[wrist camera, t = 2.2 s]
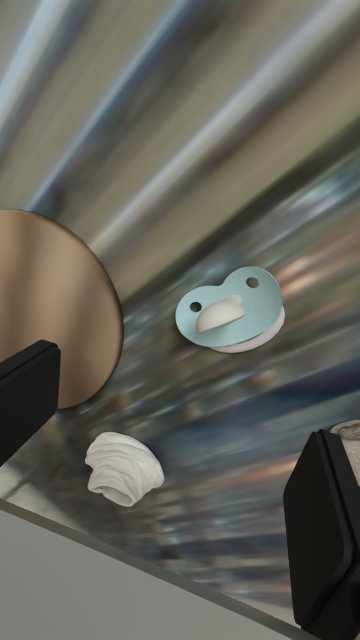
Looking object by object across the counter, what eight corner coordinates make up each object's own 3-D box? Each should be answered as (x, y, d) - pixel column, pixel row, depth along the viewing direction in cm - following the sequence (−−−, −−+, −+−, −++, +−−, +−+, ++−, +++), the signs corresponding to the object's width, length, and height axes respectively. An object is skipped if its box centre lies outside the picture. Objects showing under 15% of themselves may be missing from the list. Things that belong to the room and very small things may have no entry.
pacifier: (300, 328, 21) (266, 252, 20) (312, 375, 15) (267, 273, 14) (209, 360, 24) (174, 295, 23) (192, 408, 18) (145, 326, 17)
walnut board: (137, 239, 22) (129, 240, 20) (112, 424, 29) (104, 434, 28) (-57, 189, 25) (-76, 187, 24) (-38, 366, 32) (-51, 373, 31)
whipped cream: (172, 440, 29) (159, 479, 24) (163, 493, 31) (150, 538, 26) (96, 421, 30) (70, 454, 26) (92, 473, 32) (68, 513, 27)
